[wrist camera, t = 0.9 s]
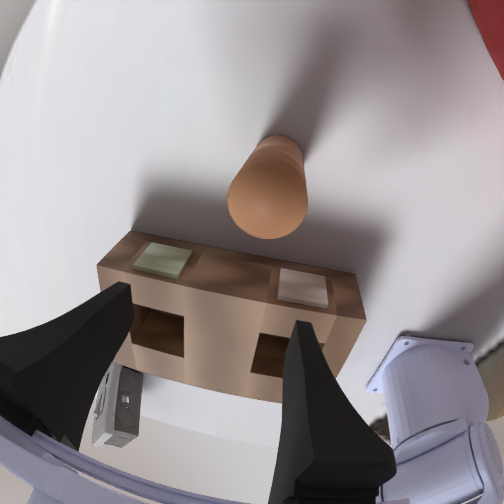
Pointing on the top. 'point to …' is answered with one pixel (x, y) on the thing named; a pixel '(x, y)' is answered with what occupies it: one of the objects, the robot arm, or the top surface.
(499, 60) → the mixing bowl
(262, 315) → the socket block
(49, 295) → the top surface
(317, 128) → the top surface
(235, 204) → the peg
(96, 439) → the electrical switch
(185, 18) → the top surface
